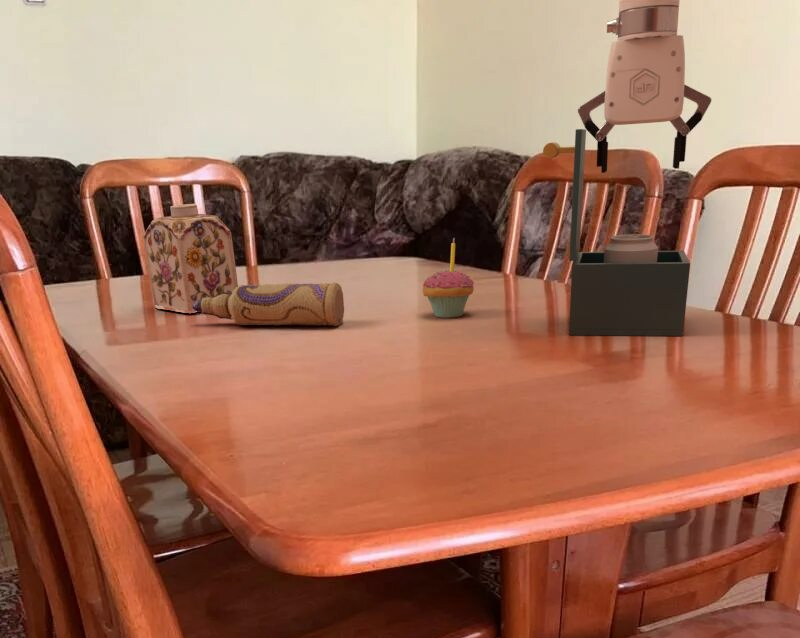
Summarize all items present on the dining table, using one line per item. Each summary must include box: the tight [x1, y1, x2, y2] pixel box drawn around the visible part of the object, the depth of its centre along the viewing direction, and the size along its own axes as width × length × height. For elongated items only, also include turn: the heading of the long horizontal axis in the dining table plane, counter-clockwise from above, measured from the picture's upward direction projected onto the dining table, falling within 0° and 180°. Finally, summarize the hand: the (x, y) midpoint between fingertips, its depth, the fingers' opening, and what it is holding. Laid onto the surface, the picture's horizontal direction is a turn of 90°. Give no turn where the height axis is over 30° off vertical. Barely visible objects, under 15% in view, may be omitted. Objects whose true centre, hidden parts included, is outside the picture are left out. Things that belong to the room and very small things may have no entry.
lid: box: [542, 128, 587, 262], centre depth 119 cm, size 17×14×5 cm
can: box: [603, 233, 659, 263], centre depth 121 cm, size 8×8×12 cm
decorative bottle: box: [192, 282, 345, 327], centre depth 135 cm, size 26×8×7 cm, turn 76°
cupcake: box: [422, 237, 475, 319], centre depth 135 cm, size 9×8×12 cm
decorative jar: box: [142, 203, 239, 311], centre depth 151 cm, size 12×12×18 cm
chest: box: [568, 250, 691, 337], centre depth 122 cm, size 16×14×10 cm
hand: (639, 170), depth 115 cm, fingers open, 9 cm apart
